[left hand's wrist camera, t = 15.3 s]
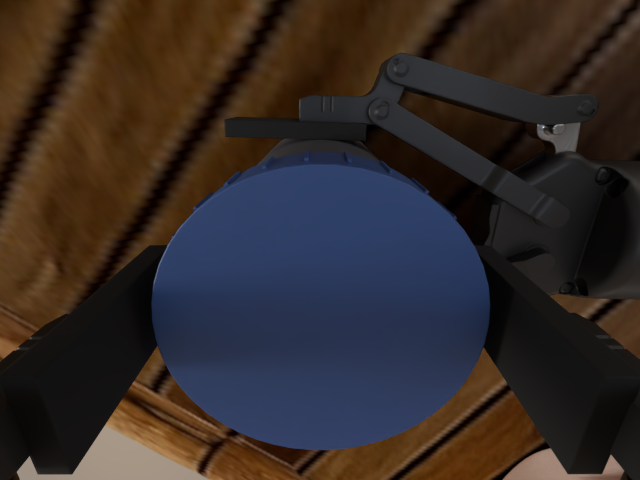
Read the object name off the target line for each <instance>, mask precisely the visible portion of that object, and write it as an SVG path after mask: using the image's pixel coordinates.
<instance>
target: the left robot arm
mask: <svg viewBox="0 0 640 480" xmlns="http://www.w3.org/2000/svg"><path fill="white" fill-rule="evenodd" d="M167 246H168V245H150V246H148V247H147V248H146V249H145V250H144V251H143V252H141V253H140V254H139V255H138V256H137V257H136V258H134V259H133V260H132V261H131V262H130V263H129V264H127V265H126V266H125V267H124V268H123V269H122V270H120V271H119V272H118V273H117V274H116V275H115V276H113V277H112V278H111V279H110V280H109V281H108V282H106V283H105V284H104V285H103V286H102V287H101V288H99V289H98V290H97V291H96V292H95V293H94V294H92V295H91V296H90V297H89V298H88V299H87V300H85V301H84V302H83V303H82V304H81V305H80V306H78V307H77V308H76V309H75V310H74V311H73V312H71V313H70V314H65V315H63V316H61V317H59V318H57V319H55V320H53V321H51V322H50V323H48V324H46V325H44V326H43V327H42V328H41V329H39V330H38V331H37V332H36V333H35V334H33V335H32V336H31V337H30V340H26V341H25V342H24V343H22V344H21V345H20V346H19V347H18V348H17V350H16V351H13V352H11V353H10V354H9V355H8V356H7V357H5V358H4V359H3V360H2V361H0V480H20V479H19V476H18V474H17V471H18V469H19V468H20V467H21V466H22V465H23V463H24V462H25V461H26V460H27V458H28V457H29V456H30V458H31V460H32V462H33V464H34V467H35V469H36V471H37V473H38V474H73V472H74V471H75V469H76V468H77V466H78V465H79V463H80V462H81V460H82V459H83V457H84V456H85V454H86V453H87V451H88V450H89V448H90V447H91V445H92V444H93V442H94V441H95V439H96V438H97V436H98V435H99V433H100V432H101V430H102V428H103V427H104V425H105V424H106V422H107V421H108V419H109V418H110V416H111V415H112V413H113V412H114V410H115V409H116V407H117V406H118V404H119V403H120V401H121V400H122V398H123V397H124V395H125V394H126V392H127V391H128V389H129V388H130V386H131V385H132V383H133V382H134V380H135V379H136V377H137V376H138V374H139V373H140V371H141V370H142V368H143V367H144V365H145V363H146V362H147V360H148V359H149V357H150V356H151V354H152V353H153V351H154V350H155V348H156V347H157V342H156V338H155V333H154V328H153V323H152V304H151V302H152V293H153V285H154V280H155V277H156V273H157V270H158V266H159V263H160V261H161V259H162V257H163V254H164V252H165V250H166V248H167ZM474 246H475V248H476V250H477V253H478V255H479V257H480V259H481V262H482V264H483V266H484V270H485V274H486V278H487V282H488V286H489V297H490V318H489V327H488V331H487V336H486V340H485V344H484V346H483V347H484V348H485V350H486V351H487V353H488V354H489V356H490V357H491V359H492V360H493V362H494V363H495V365H496V366H497V368H498V370H499V371H500V373H501V374H502V376H503V377H504V379H505V380H506V382H507V383H508V385H509V386H510V388H511V389H512V391H513V392H514V394H515V395H516V397H517V398H518V400H519V401H520V403H521V404H522V406H523V407H524V409H525V410H526V412H527V413H528V415H529V416H530V418H531V419H532V421H533V422H534V424H535V425H536V427H537V429H538V430H539V432H540V433H541V435H542V436H543V438H544V439H545V441H546V442H547V444H548V445H549V447H550V448H551V450H552V451H553V453H554V454H555V456H556V457H557V459H558V460H559V462H560V463H561V465H562V466H563V468H564V469H565V471H566V472H567V474H602V473H603V471H604V469H605V467H606V464H607V462H608V460H609V458H610V455H612V456H613V458H614V459H615V460H616V461H617V462H618V464H619V465H620V466H621V467H622V469H623V470H624V472H623V474H622V476H621V479H620V480H640V360H639V359H638V358H637V357H636V356H635V355H633V354H632V353H631V352H630V351H628V350H627V349H624V348H623V346H622V345H621V344H620V343H619V342H617V341H616V340H615V339H611V336H610V335H609V334H607V333H606V332H605V331H604V330H603V329H601V328H600V327H599V326H598V325H596V324H595V323H593V322H591V321H589V320H588V319H586V318H584V317H582V316H580V315H578V314H576V313H569V312H567V311H566V310H565V309H564V308H563V307H562V306H560V305H559V304H558V303H557V302H556V301H555V300H553V299H552V298H551V297H550V296H549V295H548V294H546V293H545V292H544V291H543V290H542V289H541V288H539V287H538V286H537V285H536V284H535V283H534V282H532V281H531V280H530V279H529V278H528V277H527V276H525V275H524V274H523V273H522V272H521V271H520V270H518V269H517V268H516V267H515V266H514V265H513V264H511V263H510V262H509V261H508V260H507V259H506V258H504V257H503V256H502V255H501V254H500V253H499V252H497V251H496V250H495V249H494V248H493V247H492V246H490V245H474Z"/></svg>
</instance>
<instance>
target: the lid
mask: <svg viewBox="0 0 640 480" xmlns="http://www.w3.org/2000/svg"><path fill="white" fill-rule="evenodd" d="M428 193H429V191H428V190H427V189H426V188H424V187H423V186H422V185H421V184H420V183H418V182H417V181H416V180H415V179H414V178H411V179H409V178H407V177H405V176H404V175H402V174H401V173H399V172H397V171H396V170H394V169H392V168H390V167H388V166H387V165H386V164H385V163H384V162H383V161H381V160H380V162H379V163H378V162H376V161H373V160H370V159H366V158H363V157H359V156H356V155H350V154H349V153H348V151H344V154H343V153H337V152H310V149H309V150H306V153H298V154H290V155H286V156H283V157H279V158H275V159H274V157H273V156H272V157H270V158H269V159H268V160H267V161H266V162H263V163H261V164H259V165H256V166H254V167H251V168H249V169H248V170H246V171H244V172H243V173H241V172H240V171H238V172H237V173H236V174H235V175H233V176H232V177H231V178H230V179H229V180H228V181H227V182H225V183H224V186H223V187H221V188H220V189H219V190H218V191H217V192H215V193H214V194H213V193H210V194H209V195H208V196H207V197H206V198H205V199H203V200H202V201H201V202H200V203H199V204H198V205H196V206H195V207H194V208H193V209H194V210H195V211H194V212H193V213H192V215H191V216H190V217H189V218H188V219H187V220H186V221H185V222H184V223H183V224H182V225H181V226H180V228H179V229H178V231H177V232H176V233H175V234H174V235H173V236H172V238H171V239H172V240H171V241H170V243H169V244H168V246H167V248H166V250H165V252H164V254H163V257H162V259H161V261H160V263H159V266H158V270H157V273H156V277H155V280H154V285H153V293H152V302H151V304H152V323H153V328H154V333H155V338H156V342H157V345H158V347H159V350H160V353H161V356H162V358H163V360H164V362H165V364H166V366H167V367H168V369H169V371H170V373H171V375H172V376H173V377H174V379H175V380H176V382H177V383H178V384H179V386H180V387H181V389H182V390H183V391H184V392H185V393H186V394H187V395H188V396H189V397H190V398H191V399H192V400H193V402H195V403H196V404H197V405H198V406H199V407H201V408H202V409H203V410H204V411H205V412H206V413H208V414H209V415H211V416H212V417H213V418H215V419H216V420H218V421H219V422H221V423H222V424H224V425H226V426H228V427H230V428H232V429H234V430H235V431H237V432H239V433H242V434H244V435H247V436H249V437H252V438H254V439H257V440H260V441H264V442H267V443H270V444H274V445H279V446H284V447H289V448H297V449H307V450H333V449H345V448H352V447H357V446H363V445H367V444H371V443H374V442H378V441H381V440H384V439H387V438H390V437H392V436H395V435H397V434H400V433H402V432H404V431H406V430H408V429H410V428H412V427H414V426H416V425H417V424H419V423H420V422H422V421H423V420H425V419H427V418H428V417H430V416H431V415H433V414H434V413H435V412H436V411H437V410H439V409H440V408H441V407H442V406H443V405H445V404H446V403H447V402H448V401H449V400H450V399H451V398H452V397H453V396H454V395H455V394H456V392H457V391H458V390H459V389H460V388H461V386H462V385H463V384H464V382H465V381H466V380H467V378H468V377H469V376H470V374H471V372H472V370H473V368H474V367H475V365H476V363H477V361H478V359H479V357H480V354H481V352H482V349H483V346H484V344H485V340H486V336H487V331H488V327H489V318H490V297H489V286H488V282H487V278H486V274H485V270H484V266H483V264H482V262H481V259H480V257H479V255H478V253H477V250H476V248H475V246H474V245H473V243H472V242H471V240H470V238H469V237H468V235H467V234H466V232H465V231H464V229H463V228H462V227H461V226H460V225H459V224H458V222H457V221H456V219H457V217H456V216H455V215H454V214H452V213H451V212H450V211H449V210H448V209H447V208H445V207H444V206H443V205H442V204H441V203H440V202H438V201H435V200H434V199H433V198H432V197H430V196H429V195H428Z"/></svg>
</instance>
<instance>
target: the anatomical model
mask: <svg viewBox="0 0 640 480" xmlns="http://www.w3.org/2000/svg"><path fill="white" fill-rule="evenodd" d="M623 472H624V470H623V469H622V467H621V466H620V465H619V464H618V462H617V461H616V460H615V459H614V458H613V456H612V455H610V458H609V460H608V462H607V464H606V467H605V469H604V471H603V473H602V474H567V472H566V471H565V469H564V468H563V466H562V465H561V463H560V462H559V460H558V459H557V457H556V456H555V454H554V453H553V451H552V450H551V448H549V449H545V450H542V451H539V452H537V453H535V454H533V455H531V456H529V457H527V458H526V459H524V460H523V461H522V462H520V463H519V464H518V465H517V466H516V467H514V468H513V469H512V470H511V471H510V472H509V473H508V474H507V475H506V476H505V478H504V479H503V480H620V479H621V476H622V474H623Z"/></svg>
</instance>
